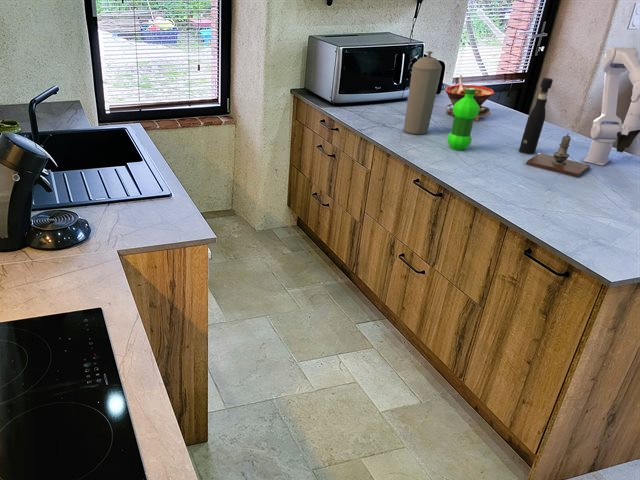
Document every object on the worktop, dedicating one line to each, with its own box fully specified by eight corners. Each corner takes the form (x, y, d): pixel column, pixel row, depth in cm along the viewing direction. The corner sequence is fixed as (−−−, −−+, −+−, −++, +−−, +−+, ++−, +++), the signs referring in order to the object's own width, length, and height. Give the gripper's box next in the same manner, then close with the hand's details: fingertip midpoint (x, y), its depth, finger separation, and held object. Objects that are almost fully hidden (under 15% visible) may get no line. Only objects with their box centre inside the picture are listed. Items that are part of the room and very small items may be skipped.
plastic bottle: (473, 148, 256) (487, 88, 243) (462, 154, 250) (476, 93, 236) (452, 142, 262) (464, 84, 248) (441, 148, 255) (453, 88, 242)
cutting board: (539, 156, 249) (540, 152, 248) (589, 168, 238) (590, 165, 237) (526, 164, 241) (527, 160, 240) (577, 177, 229) (578, 173, 228)
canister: (399, 133, 272) (412, 52, 253) (403, 126, 282) (417, 47, 263) (427, 137, 268) (443, 55, 249) (431, 129, 278) (446, 50, 259)
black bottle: (535, 150, 255) (556, 78, 239) (534, 155, 250) (556, 81, 234) (519, 148, 257) (539, 76, 241) (518, 152, 252) (538, 79, 236)
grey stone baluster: (568, 166, 235) (578, 136, 229) (552, 164, 236) (562, 135, 230) (564, 161, 240) (574, 131, 234) (549, 159, 241) (558, 130, 235)
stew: (436, 104, 315) (443, 73, 306) (483, 107, 312) (490, 75, 304) (444, 119, 292) (451, 86, 283) (495, 122, 289) (503, 88, 280)
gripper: (642, 119, 212) (628, 156, 219) (653, 112, 221) (639, 147, 228) (621, 115, 216) (608, 151, 224) (632, 108, 225) (619, 143, 232)
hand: (622, 149), depth 226 cm, fingers open, 7 cm apart
